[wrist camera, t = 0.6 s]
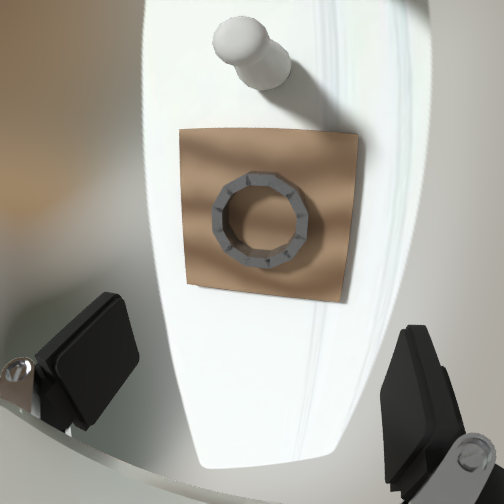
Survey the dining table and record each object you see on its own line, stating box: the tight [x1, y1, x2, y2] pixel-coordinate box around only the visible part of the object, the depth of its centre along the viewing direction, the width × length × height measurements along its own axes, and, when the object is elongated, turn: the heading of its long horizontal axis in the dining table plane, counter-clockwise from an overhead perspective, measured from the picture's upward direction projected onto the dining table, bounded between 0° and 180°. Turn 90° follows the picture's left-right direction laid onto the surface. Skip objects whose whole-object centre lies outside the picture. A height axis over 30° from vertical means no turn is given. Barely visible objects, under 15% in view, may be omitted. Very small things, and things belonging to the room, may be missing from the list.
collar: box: [212, 171, 309, 269], centre depth 34 cm, size 10×10×2 cm
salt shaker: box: [212, 16, 292, 91], centre depth 24 cm, size 6×6×13 cm
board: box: [179, 128, 358, 302], centre depth 36 cm, size 20×20×2 cm
